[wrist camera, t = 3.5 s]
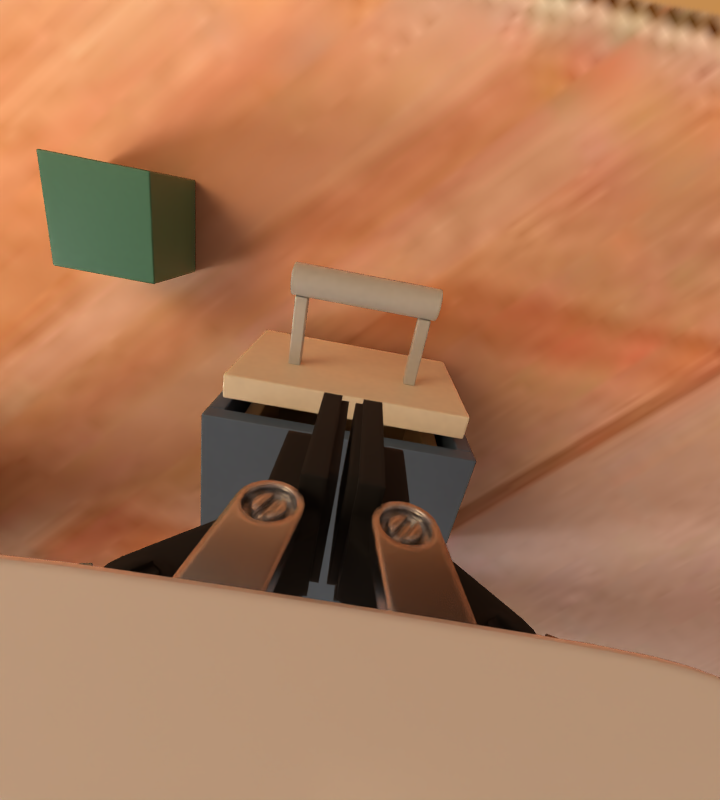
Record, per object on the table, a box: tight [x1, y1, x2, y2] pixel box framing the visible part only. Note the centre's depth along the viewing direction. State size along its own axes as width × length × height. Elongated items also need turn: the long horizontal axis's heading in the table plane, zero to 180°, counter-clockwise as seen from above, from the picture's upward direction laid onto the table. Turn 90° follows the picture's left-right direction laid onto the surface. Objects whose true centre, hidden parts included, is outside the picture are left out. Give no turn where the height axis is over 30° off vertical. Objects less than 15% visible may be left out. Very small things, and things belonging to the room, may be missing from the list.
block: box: [37, 149, 195, 284], centre depth 21 cm, size 5×5×5 cm
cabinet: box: [201, 391, 476, 603], centre depth 25 cm, size 15×13×10 cm
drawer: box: [223, 262, 470, 446], centre depth 23 cm, size 18×11×8 cm, turn 170°
